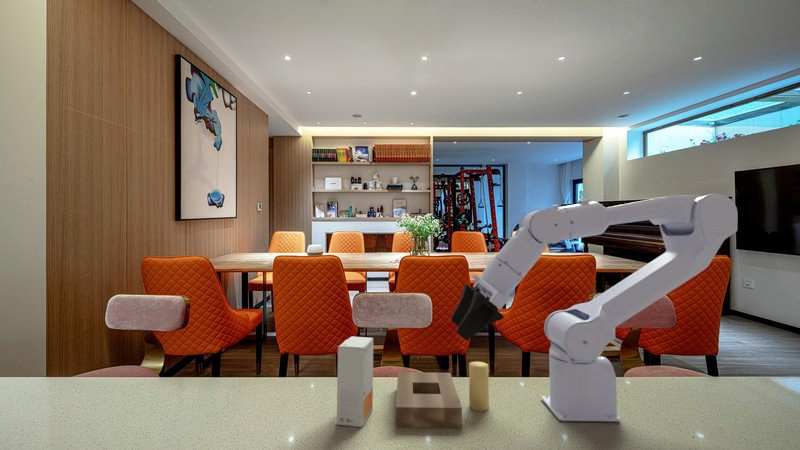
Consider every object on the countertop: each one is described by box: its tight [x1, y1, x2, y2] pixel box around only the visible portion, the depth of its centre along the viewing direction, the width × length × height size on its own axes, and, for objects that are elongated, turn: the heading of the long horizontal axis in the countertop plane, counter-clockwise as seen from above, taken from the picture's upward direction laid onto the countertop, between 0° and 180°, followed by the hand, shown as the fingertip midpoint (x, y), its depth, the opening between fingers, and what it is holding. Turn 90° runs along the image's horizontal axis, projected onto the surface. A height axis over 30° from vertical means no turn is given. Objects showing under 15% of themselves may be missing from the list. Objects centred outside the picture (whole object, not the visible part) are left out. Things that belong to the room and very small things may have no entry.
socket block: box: [395, 371, 463, 429], centre depth 60 cm, size 10×14×3 cm
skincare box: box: [336, 335, 374, 428], centre depth 57 cm, size 6×4×12 cm
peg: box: [468, 361, 490, 412], centre depth 60 cm, size 3×3×7 cm
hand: (457, 329), depth 61 cm, fingers open, 7 cm apart
